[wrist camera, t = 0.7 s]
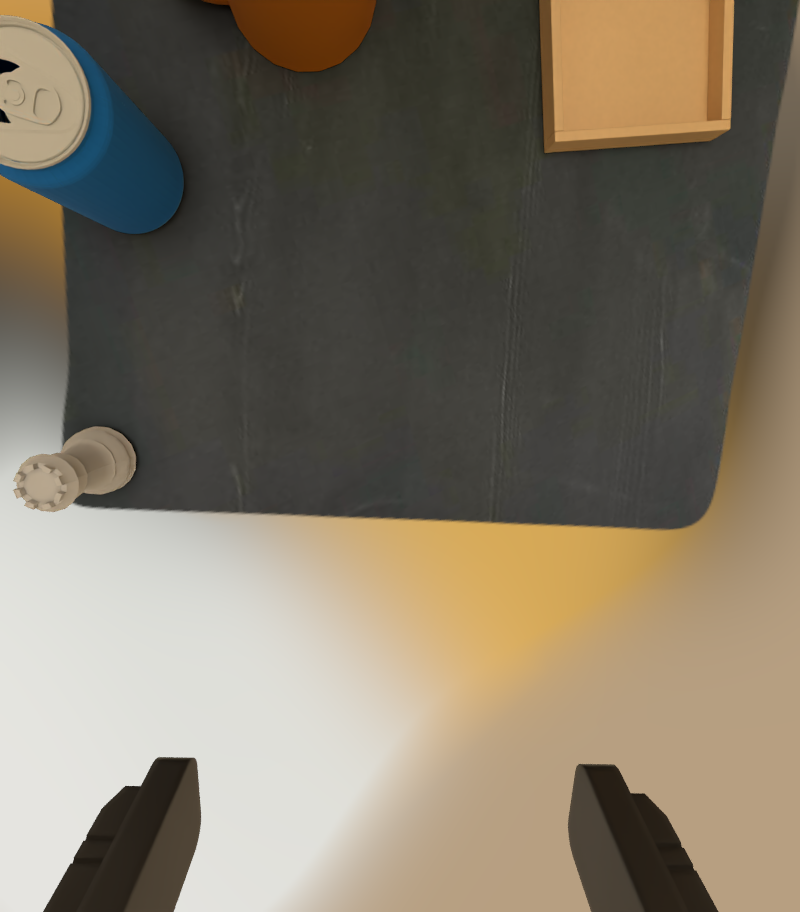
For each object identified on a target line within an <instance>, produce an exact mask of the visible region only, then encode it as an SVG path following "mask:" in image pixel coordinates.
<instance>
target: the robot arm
mask: <svg viewBox="0 0 800 912" xmlns="http://www.w3.org/2000/svg"><path fill="white" fill-rule="evenodd" d="M568 821H569V822H568V831H569V840H570V846H571V851H572V854H573V858H574V861H575V864H576V867H577V870H578V873H579V876H580V879H581V882H582V885H583V888H584V891H585V894H586V897H587V900H588V903H589V906H590V909H591V912H718V910H717V908H716V907H715V905H714V903H713V901H712V899H711V898H710V896H709V894H708V892H707V890H706V888H705V886H704V884H703V882H702V881H701V879H700V877H699V875H698V873H697V871H694V869H693V864H692V862H691V860H690V859H689V857H688V855H687V853H686V851H685V849H684V848H682V847H681V842H680V840H679V838H678V836H677V834H676V833H675V831H674V829H673V827H672V825H671V823H670V822H669V820H668V818H667V816H666V815H665V814H664V813H663V812H662V811H661V810H660V809H659V808H658V807H657V806H656V805H655V804H654V803H653V802H652V801H651V800H650V799H649V798H648V797H647V796H646V795H645V794H633V793H630V791H629V789H628V787H627V785H626V783H625V781H624V779H623V777H622V775H621V773H620V771H619V769H618V768H617V767H616V766H615V765H606V764H602V765H601V764H597V765H596V764H579V765H578V766H577V768H576V771H575V778H574V785H573V792H572V799H571V806H570V812H569V820H568ZM200 825H201V808H200V796H199V782H198V770H197V762H196V759H195V758H173V757H171V758H170V757H169V758H168V757H167V758H166V757H159V758H157V759H156V760H155V761H154V762H153V764H152V766H151V768H150V770H149V772H148V773H147V775H146V778H145V779H144V781H143V783H142V785H141V786H125V787H124V788H123V789H122V790H121V791H120V792H119V793H118V794H117V795H116V796H115V797H113V799H111V800H110V801H109V802H108V803H107V804H106V805H105V806H104V807H103V808H102V809H101V811H100V813H99V815H98V816H97V818H96V820H95V822H94V823H93V825H92V827H91V829H90V830H89V832H88V834H87V837H86V840H85V841H83V843H82V845H81V846H80V848H79V850H78V852H77V853H76V855H75V857H74V861H73V863H72V864H70V866H69V867H68V869H67V871H66V873H65V874H64V876H63V878H62V880H61V882H60V883H59V885H58V887H57V888H56V890H55V892H54V894H53V896H52V897H51V899H50V901H49V902H48V904H47V906H46V908H45V909H44V911H43V912H174V909H175V906H176V903H177V900H178V898H179V895H180V892H181V889H182V886H183V884H184V881H185V878H186V875H187V872H188V869H189V867H190V864H191V861H192V858H193V855H194V852H195V850H196V846H197V842H198V838H199V832H200Z"/></svg>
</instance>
